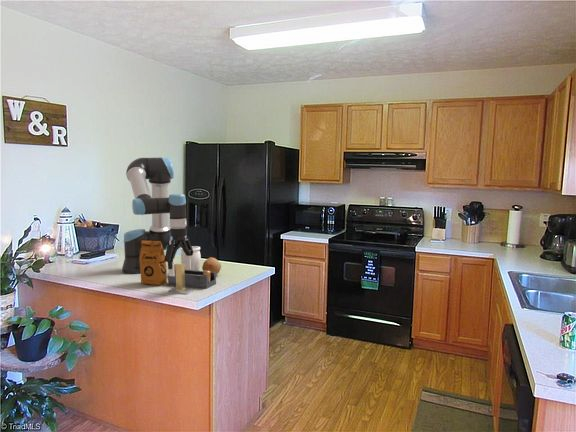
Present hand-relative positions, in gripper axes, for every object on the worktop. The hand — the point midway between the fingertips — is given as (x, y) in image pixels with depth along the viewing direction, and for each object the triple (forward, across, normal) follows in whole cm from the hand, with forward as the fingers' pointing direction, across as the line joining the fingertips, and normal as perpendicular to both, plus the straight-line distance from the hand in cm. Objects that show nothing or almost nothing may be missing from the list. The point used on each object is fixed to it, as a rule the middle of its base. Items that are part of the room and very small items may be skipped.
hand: (180, 272), depth 199 cm
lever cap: (+9, 0, 0) cm, 9 cm away
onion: (+10, +31, +1) cm, 32 cm away
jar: (+10, +30, +13) cm, 34 cm away
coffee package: (+10, +9, +21) cm, 25 cm away
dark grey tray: (+9, +13, +2) cm, 16 cm away
